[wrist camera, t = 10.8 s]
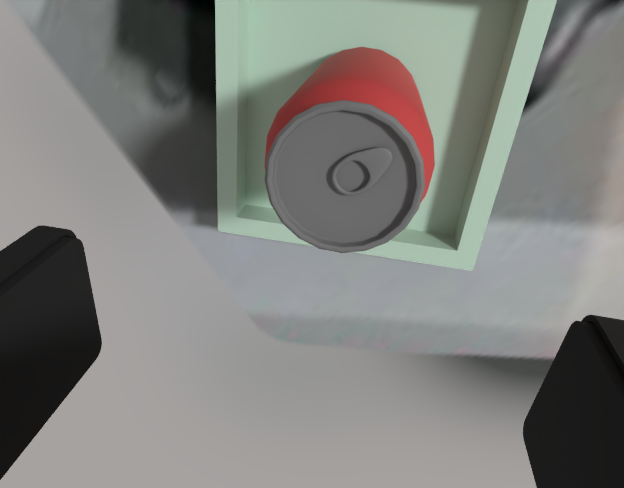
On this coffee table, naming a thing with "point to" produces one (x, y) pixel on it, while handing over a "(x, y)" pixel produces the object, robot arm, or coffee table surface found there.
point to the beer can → (350, 153)
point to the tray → (431, 85)
